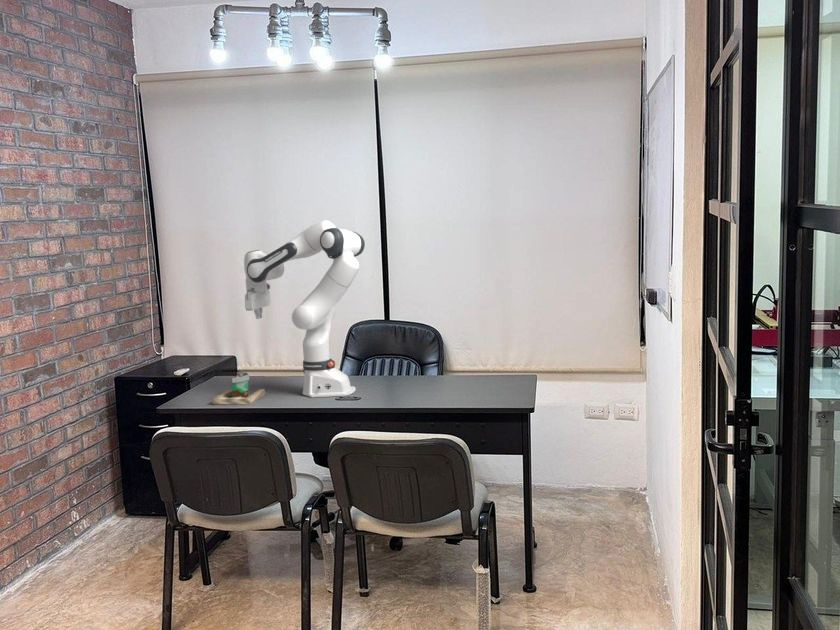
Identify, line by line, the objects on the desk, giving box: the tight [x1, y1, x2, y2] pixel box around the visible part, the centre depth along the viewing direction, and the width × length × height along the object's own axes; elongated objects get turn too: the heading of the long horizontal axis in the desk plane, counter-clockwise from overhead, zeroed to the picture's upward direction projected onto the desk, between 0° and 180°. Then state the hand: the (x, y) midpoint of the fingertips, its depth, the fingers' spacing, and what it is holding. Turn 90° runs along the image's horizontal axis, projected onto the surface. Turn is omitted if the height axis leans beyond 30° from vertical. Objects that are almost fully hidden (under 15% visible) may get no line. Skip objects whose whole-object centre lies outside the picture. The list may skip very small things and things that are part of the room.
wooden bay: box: [211, 388, 266, 405], centre depth 340 cm, size 16×17×2 cm
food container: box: [231, 371, 251, 398], centre depth 343 cm, size 12×6×10 cm, turn 2°
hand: (259, 318), depth 361 cm, fingers closed
